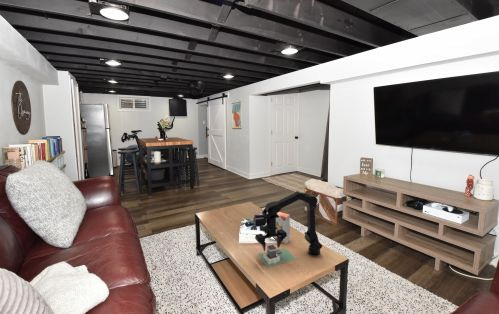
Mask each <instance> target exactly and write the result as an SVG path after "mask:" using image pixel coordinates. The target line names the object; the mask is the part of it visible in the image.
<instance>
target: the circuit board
mask: <svg viewBox="0 0 499 314" xmlns="http://www.w3.org/2000/svg"><path fill="white" fill-rule="evenodd" d="M257 257H258V258H259V259H260V261H261V262H262V263H263V264H264V265H265V267H266V268H270V267H274V266H277V265H280V264H284V263H289V262H292V261H295V260H297V258H296V257H295V256H294V255H293V254H292V253H291V252H290V251H289V250H288V249H287V248H285V247H283V248H278V249H276V258H272V259H269V258H268V257H267V252H263V253H259V254H257Z"/></svg>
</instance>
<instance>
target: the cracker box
mask: <svg viewBox="0 0 499 314" xmlns="http://www.w3.org/2000/svg"><path fill="white" fill-rule="evenodd" d="M277 214H278V215H279V218H276V227H277V229H276V233H277V230H280V229H283V230H284V231H285V232H286V233H287V237H285V239H283V241H282V242H281V244H285V245H287V244H288V243H289V242H290V238H291V237H290V235H291V231H290V230H291V228H290V227H291V215H290V214H289V213H285V212H281V211H279V212H278V213H277ZM273 238H274V239H275V240H274V241H275V242H277V236H275V237H273Z"/></svg>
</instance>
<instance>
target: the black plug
mask: <svg viewBox="0 0 499 314" xmlns="http://www.w3.org/2000/svg"><path fill="white" fill-rule="evenodd" d="M266 250H267V251H266V253H267V257H268V258H269V259H272V258H276V250H277V247H276V246H275V245H274V244H272V245H271V244H269V245H267V246H266Z"/></svg>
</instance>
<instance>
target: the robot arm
mask: <svg viewBox="0 0 499 314" xmlns="http://www.w3.org/2000/svg"><path fill="white" fill-rule="evenodd" d="M299 200H300V201H303V202H304V205H305V208H306V215H307V216H306V217H307V218H306V220H307V231H304V239H305V240H306V242H307V243H308V244H309V245H308V255H310V256H315V257H316V256H319V255H320V254H321V249H322V248H323V244H321V242H320V241H319V236H318V234H317V231H316V230H317V229H316V208H317V206H318V197H316V196H315V195H313V194H311V193H304V192H301V191H299V190H296V191H295V192H293V193H291V194H289V195H287V196H285V197H283V198H282V199H279V200H276V201H271V202H268V203H266V204H265V207H264V209H263V211H262V212H261V214H254V215H253V219H252V221H253V227H254V228H255V227H258V228H259V231H260V232H263V233H264V235H263V233H259V234H255V236H254V239H255V240H256V241H257V243H258V244H261V247H262V249H263V251H264V252H265V251H266V247H267V246H266V244H267V243H266V239H269V238H271V237H275V236H277V241H276V246H277V247H276V248H278V249H280V248H279V247H280V245H281V244H282V243H281V242H282V241H283V239H285V237H287V233H286V232H285V231H284V230H283V229H280V230H277V233H276V229H277V227H276V218H279V215H278V214H277V213H278V212H281V210H282V209H283V208H285V207H288V206H289V205H291V204H293V203H295V202H297V201H299Z"/></svg>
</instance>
